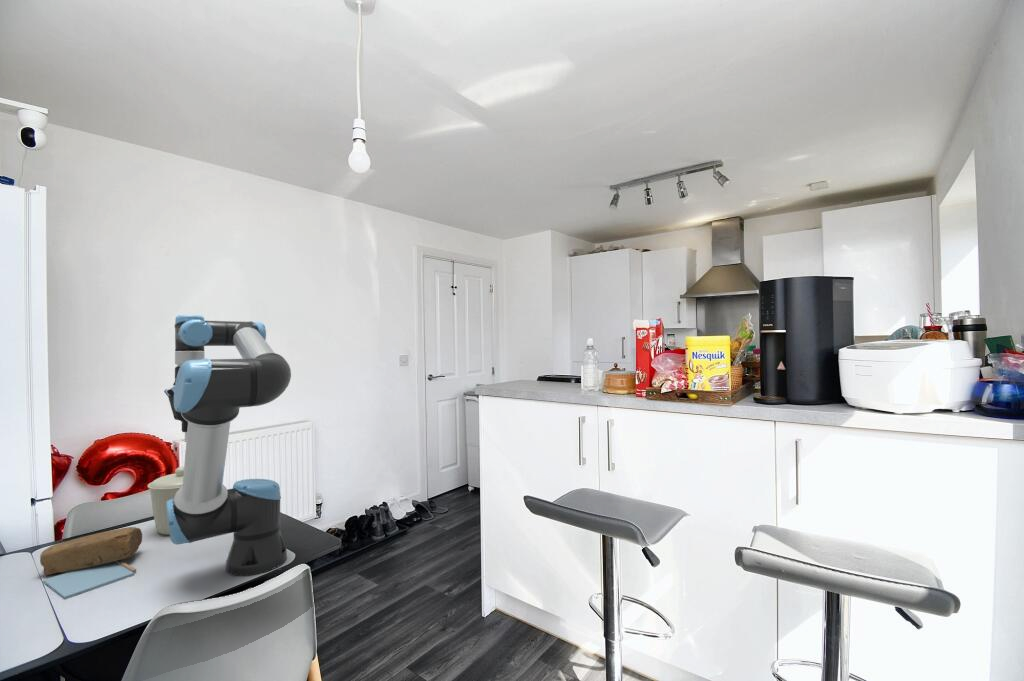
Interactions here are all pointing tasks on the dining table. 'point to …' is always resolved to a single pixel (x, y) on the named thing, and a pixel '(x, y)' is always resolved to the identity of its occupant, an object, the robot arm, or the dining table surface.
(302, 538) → the dining table surface
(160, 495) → the canister
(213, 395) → the robot arm
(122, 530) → the pitted brown rock
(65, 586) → the book
